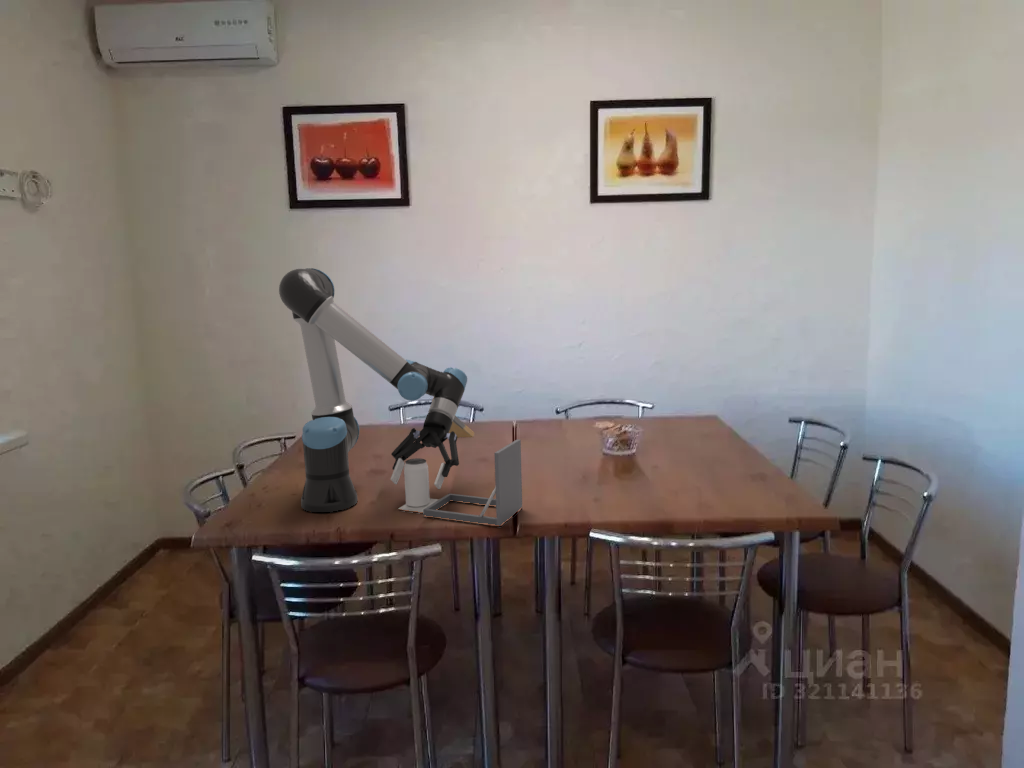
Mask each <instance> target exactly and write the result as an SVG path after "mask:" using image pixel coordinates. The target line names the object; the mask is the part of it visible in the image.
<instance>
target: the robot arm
mask: <svg viewBox="0 0 1024 768" xmlns="http://www.w3.org/2000/svg"><path fill="white" fill-rule="evenodd" d="M278 293H279V297H280V300H281V302H282V303H283V304H284V305H285V307H286V308H287V309H289V310H290V311H291V312H292V319H293V321H295V322H297V323H298V324H299V325H300V331H301V335H302V340H303V346H304V350H305V356H306V363H307V367H308V372H309V378H310V383H311V389H312V393H313V394H312V395H313V398H314V399H313V400H314V403H315V407H314V408H313V410H312V412H311V417H312V420H309V421H307V422H306V423H305V424H304V425H303V427H302V432H301V433H302V434H301V440H302V447H303V461H304V471H305V481H304V482H305V483H304V485H303V490H302V495H301V499H300V505H301V509H302V508H303V509H304V510H303V509H302V510H303V511H305V510H306V511H305V512H307V511H311V512H310V513H312V512H330V513H334V512H333V511H337V512H339V511H338V510H342V511H344V510H343V509H345V510H347V509H346V508H348V509H350V508H349V507H351V506H353V505H354V506H356V505H357V504H356V503H358V502H357V501H358V492H357V490H356V489H355V487H354V484H353V483H354V482H353V481H352V478H351V476H350V469H349V468H350V467H349V466H350V465H349V452H350V451H351V450H352V449H353V448H354V447H355V445H356V444H357V443H358V440H359V437H360V436H359V435H360V423H359V422H358V420H357V418H356V417H355V416H354V415H355V414H354V411H353V406H352V404H350V403H348V402H347V400H346V396H345V391H344V390H345V389H344V385H343V384H344V383H343V379H342V374H341V368H340V363H339V358H338V356H339V355H338V352H337V346H336V342H337V343H338V344H340V345H341V346H342V347H344V348H345V349H346V350H347V351H349V352H350V353H351V354H353V355H354V356H355V357H356V358H358V360H360V361H361V362H363V363H364V364H365V365H367V366H368V367H369V368H370V369H372V370H373V371H374V372H375V373H376V374H378V375H379V376H380V377H381V378H383V379H385V380H386V381H387V382H388V383H390V384H391V385H392V387H394V388H395V389H397V391H398V393H399V396H400V397H401V398H403V399H404V400H407V401H409V402H410V401H411V402H412V401H417V400H419V399H421V397H423V396H425V395H428V396H431V397H432V399H433V401H432V400H431V404H430V406H429V408H428V413H427V414H426V417H425V419H424V421H423V427H422V429H421V430H417V429H416V428H415V427H412V428H411V429H410V431H409V433H408V434H407V436H406V437H405V438H404V439H403V440H402V441H401V442H400V444H398V446H397V447H396V448H395V449H394V450H393V451H392V452H391V456H392V457H393V459H395V461H394V463H393V466H392V470H393V471H392V474H391V477H390V481H392V483H393V484H394V485H397V484H398V482H399V480H400V477H401V475H402V472H403V471H404V466H405V464H406V463H405V461H407V460H408V459H409V458H410V457H411V456H412V455H414V454H415V453H416V452H418V451H419V450H422V449H424V448H425V447H426V448H434V449H436V448H437V447H438V450H439V451H440V453H441V456H442V458H443V461H444V462H441V464H440V466H439V470H438V472H437V475H436V476H435V477H436V478H435V479H434V483H433V485H434V487H435V488H437V490H441V488H442V485H443V484H444V480H445V478H448V475H449V474H450V470H451V468H452V467H453V466H454V467H455V466H456V467H458V466H459V465H460V461H459V453H458V447H457V440H458V438H457V435H456V434H455V432H454V431H452V432H451V433H449V431H450V428H451V426H452V421H453V420H454V417H455V416H456V413H457V411H458V409H459V405H460V404H461V401H462V399H463V395H464V392H465V390H466V387H467V384H468V376H467V374H466V373H465V372H464V371H463V370H461V369H460V368H457V367H451V366H450V367H446V369H444V371H439V370H436V369H434V368H432V367H430V366H427V365H423V364H421V363H419V362H418V361H414V360H411V359H405V358H404V357H402V356H401V355H400V354H399V353H398V352H396V351H395V350H394V349H393V348H391V347H390V346H389V345H388V344H386V343H385V342H383V340H382V339H379V337H378V336H376V335H375V334H374V333H372V332H371V331H370V330H369V329H368V328H366V327H365V326H364V325H362V324H361V323H360V322H359V321H358V320H357V319H355V318H354V317H353V316H351V315H350V314H349V313H348V312H346V311H345V310H344V309H343V308H342V307H340V306H339V305H338V304H337V303H335V302H334V297H335V285H334V282H333V281H332V279H331V278H330V276H329V275H328V274H327V273H325V272H324V271H322V270H320V269H317V268H312V267H311V268H296V269H292V270H290V271H288V272H287V273H285V275H284V276H283V277H282V278H281V280H280V283H279V286H278ZM335 341H336V342H335ZM447 439H448V443H449V450H450V456H451V459H450V456H449V454H448V452H447V449H446V447H445V444H444V442H445V441H447ZM421 442H422V443H421ZM355 504H356V505H355ZM354 506H353V507H354ZM351 508H352V507H351Z"/></svg>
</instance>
